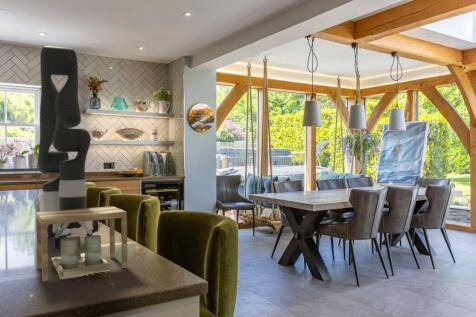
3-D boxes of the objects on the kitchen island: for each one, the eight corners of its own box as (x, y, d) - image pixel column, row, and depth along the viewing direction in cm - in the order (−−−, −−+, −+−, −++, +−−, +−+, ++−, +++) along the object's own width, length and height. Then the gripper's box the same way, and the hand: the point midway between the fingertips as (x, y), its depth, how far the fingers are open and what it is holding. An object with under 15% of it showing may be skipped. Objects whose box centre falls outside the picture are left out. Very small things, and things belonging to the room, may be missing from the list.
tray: (51, 260, 120) (50, 230, 119) (93, 255, 126) (92, 226, 126) (60, 280, 101) (59, 245, 100) (109, 272, 107) (108, 239, 107)
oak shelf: (36, 268, 110) (36, 212, 110) (113, 257, 122) (113, 206, 121) (42, 281, 99) (41, 219, 98) (127, 268, 110) (126, 211, 109)
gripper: (48, 197, 114) (49, 254, 114) (100, 194, 121) (100, 247, 122) (45, 195, 120) (46, 248, 120) (94, 192, 128) (95, 242, 128)
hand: (73, 248), depth 121 cm, fingers open, 8 cm apart
